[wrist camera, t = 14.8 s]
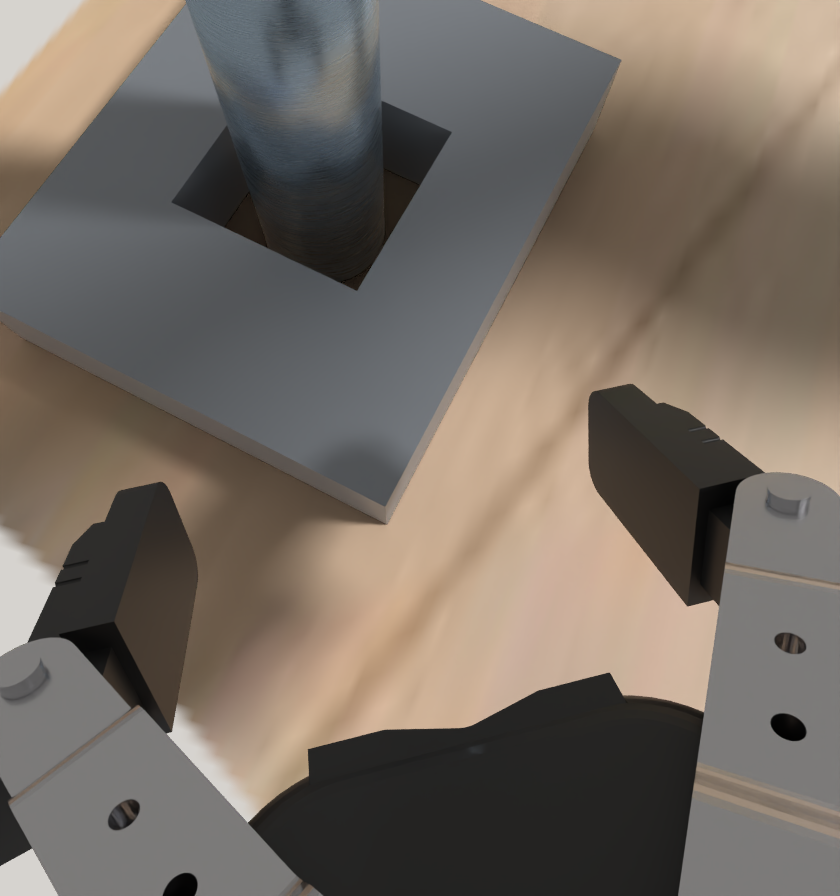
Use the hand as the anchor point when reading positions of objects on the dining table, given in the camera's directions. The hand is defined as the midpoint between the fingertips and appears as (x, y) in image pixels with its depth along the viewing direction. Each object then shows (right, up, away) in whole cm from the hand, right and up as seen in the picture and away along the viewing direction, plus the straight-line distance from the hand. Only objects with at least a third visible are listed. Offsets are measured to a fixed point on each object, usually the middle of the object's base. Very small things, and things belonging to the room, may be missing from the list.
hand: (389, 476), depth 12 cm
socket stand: (-3, +8, +10) cm, 13 cm away
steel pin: (-3, +8, +10) cm, 13 cm away
